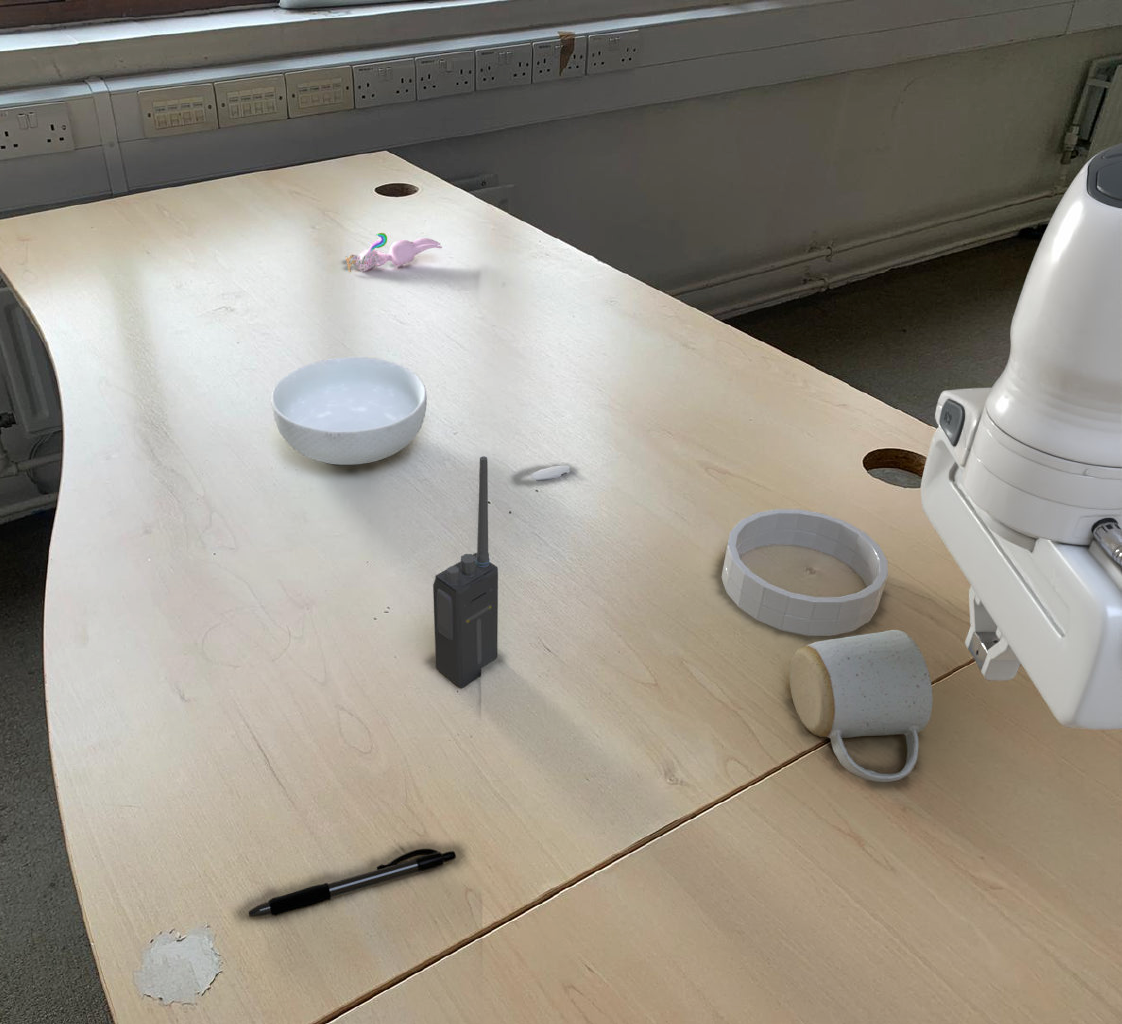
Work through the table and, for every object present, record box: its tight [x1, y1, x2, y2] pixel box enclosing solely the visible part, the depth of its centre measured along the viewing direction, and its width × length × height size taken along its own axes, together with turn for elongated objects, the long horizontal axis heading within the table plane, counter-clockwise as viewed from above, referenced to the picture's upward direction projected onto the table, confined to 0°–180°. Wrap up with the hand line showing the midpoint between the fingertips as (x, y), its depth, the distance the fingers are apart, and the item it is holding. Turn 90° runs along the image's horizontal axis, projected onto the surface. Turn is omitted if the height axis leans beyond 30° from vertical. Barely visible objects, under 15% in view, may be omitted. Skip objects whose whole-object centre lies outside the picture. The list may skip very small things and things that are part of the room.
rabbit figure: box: [344, 232, 443, 274], centre depth 154 cm, size 6×6×15 cm
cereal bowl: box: [270, 356, 428, 466], centre depth 110 cm, size 17×17×7 cm
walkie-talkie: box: [432, 456, 499, 689], centre depth 77 cm, size 5×3×20 cm
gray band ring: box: [721, 508, 889, 637], centre depth 89 cm, size 13×13×4 cm
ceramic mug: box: [789, 629, 934, 783], centre depth 74 cm, size 11×8×8 cm
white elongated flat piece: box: [529, 464, 571, 482], centre depth 105 cm, size 6×2×1 cm, turn 105°
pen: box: [248, 848, 457, 918], centre depth 66 cm, size 14×2×1 cm, turn 108°
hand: (987, 663), depth 59 cm, fingers closed
